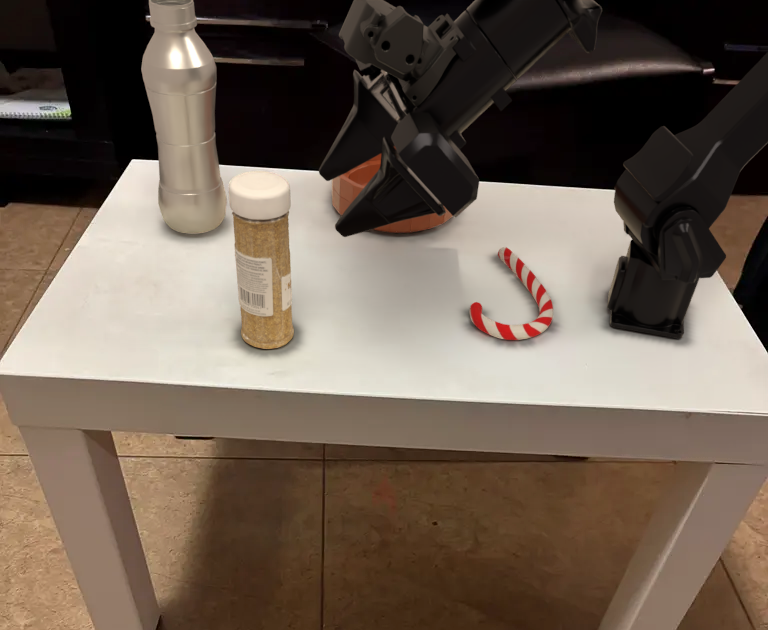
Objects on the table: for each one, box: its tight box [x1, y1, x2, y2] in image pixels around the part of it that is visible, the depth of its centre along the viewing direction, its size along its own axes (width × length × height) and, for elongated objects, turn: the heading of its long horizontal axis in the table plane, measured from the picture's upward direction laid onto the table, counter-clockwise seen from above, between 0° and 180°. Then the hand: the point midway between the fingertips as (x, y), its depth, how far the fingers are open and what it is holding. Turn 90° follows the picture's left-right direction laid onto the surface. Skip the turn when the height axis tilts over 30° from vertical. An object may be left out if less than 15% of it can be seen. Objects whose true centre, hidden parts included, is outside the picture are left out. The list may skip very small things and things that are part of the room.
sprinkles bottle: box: [228, 170, 295, 350], centre depth 66 cm, size 5×5×14 cm
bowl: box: [331, 146, 453, 234], centre depth 87 cm, size 13×13×4 cm
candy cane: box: [469, 246, 554, 341], centre depth 77 cm, size 8×1×15 cm
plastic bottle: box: [140, 0, 228, 235], centre depth 76 cm, size 6×7×20 cm
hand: (330, 203), depth 63 cm, fingers open, 9 cm apart
